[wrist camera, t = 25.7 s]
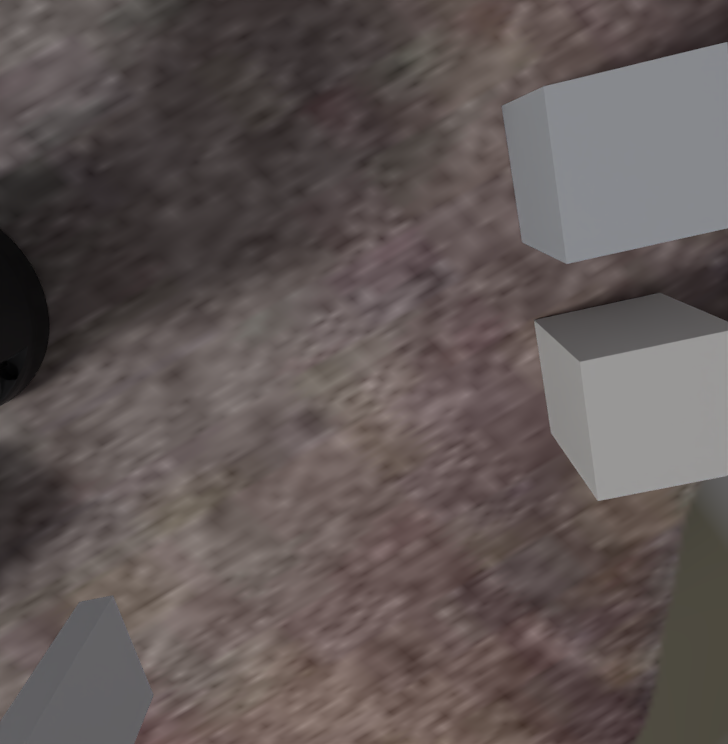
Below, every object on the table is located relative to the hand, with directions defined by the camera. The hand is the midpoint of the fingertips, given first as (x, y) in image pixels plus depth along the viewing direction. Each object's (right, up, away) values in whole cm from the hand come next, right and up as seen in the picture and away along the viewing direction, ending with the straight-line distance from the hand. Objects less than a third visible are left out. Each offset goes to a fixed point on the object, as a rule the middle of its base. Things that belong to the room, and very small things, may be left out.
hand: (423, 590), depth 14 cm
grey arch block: (+12, +18, +27) cm, 35 cm away
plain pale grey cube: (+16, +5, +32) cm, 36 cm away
